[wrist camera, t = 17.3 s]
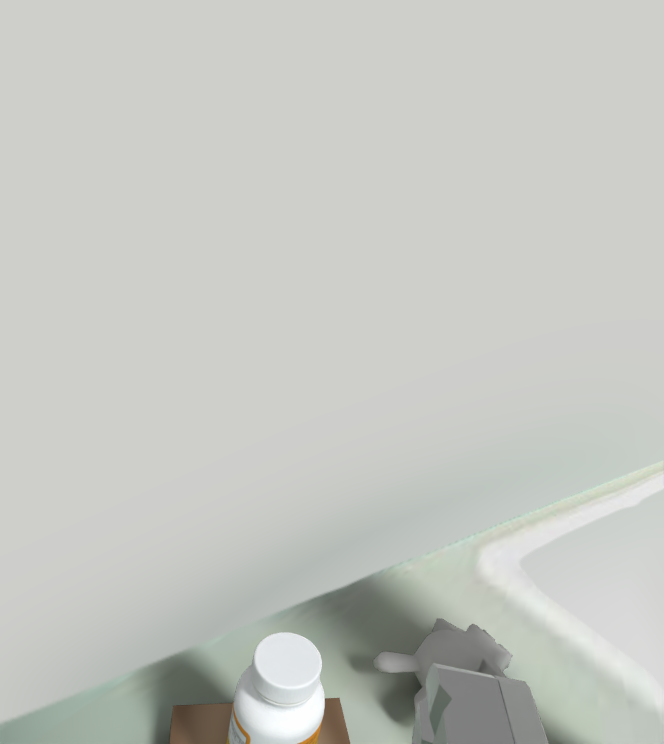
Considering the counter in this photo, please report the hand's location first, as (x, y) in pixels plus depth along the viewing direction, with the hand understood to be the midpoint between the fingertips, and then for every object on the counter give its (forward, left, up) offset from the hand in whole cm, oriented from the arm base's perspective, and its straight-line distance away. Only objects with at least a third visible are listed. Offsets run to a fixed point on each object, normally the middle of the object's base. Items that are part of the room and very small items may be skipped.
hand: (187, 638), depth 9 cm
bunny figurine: (-27, -29, -35) cm, 53 cm away
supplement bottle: (-8, -20, -33) cm, 39 cm away
